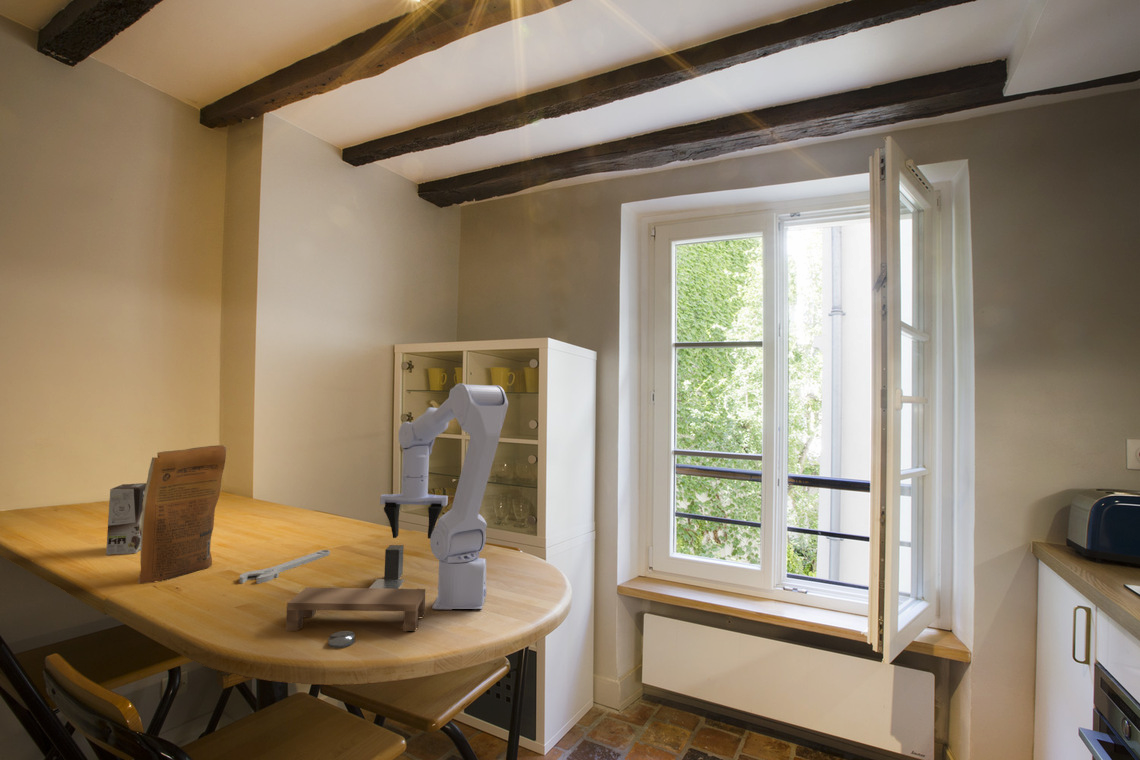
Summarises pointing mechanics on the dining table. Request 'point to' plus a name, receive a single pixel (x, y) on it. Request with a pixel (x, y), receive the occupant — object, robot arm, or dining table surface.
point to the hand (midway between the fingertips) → (412, 537)
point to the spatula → (392, 568)
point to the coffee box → (125, 519)
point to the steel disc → (341, 639)
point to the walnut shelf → (356, 603)
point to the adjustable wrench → (280, 568)
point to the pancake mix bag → (180, 512)
